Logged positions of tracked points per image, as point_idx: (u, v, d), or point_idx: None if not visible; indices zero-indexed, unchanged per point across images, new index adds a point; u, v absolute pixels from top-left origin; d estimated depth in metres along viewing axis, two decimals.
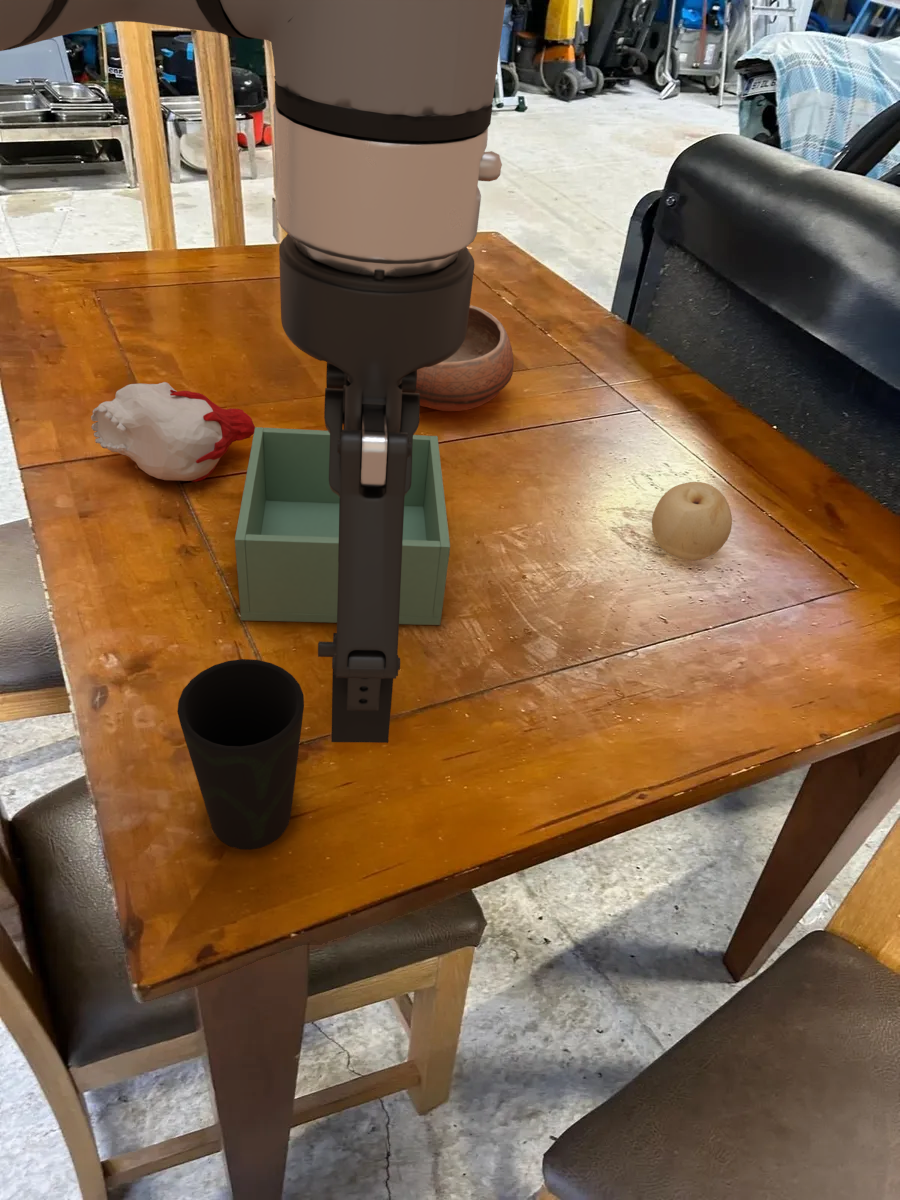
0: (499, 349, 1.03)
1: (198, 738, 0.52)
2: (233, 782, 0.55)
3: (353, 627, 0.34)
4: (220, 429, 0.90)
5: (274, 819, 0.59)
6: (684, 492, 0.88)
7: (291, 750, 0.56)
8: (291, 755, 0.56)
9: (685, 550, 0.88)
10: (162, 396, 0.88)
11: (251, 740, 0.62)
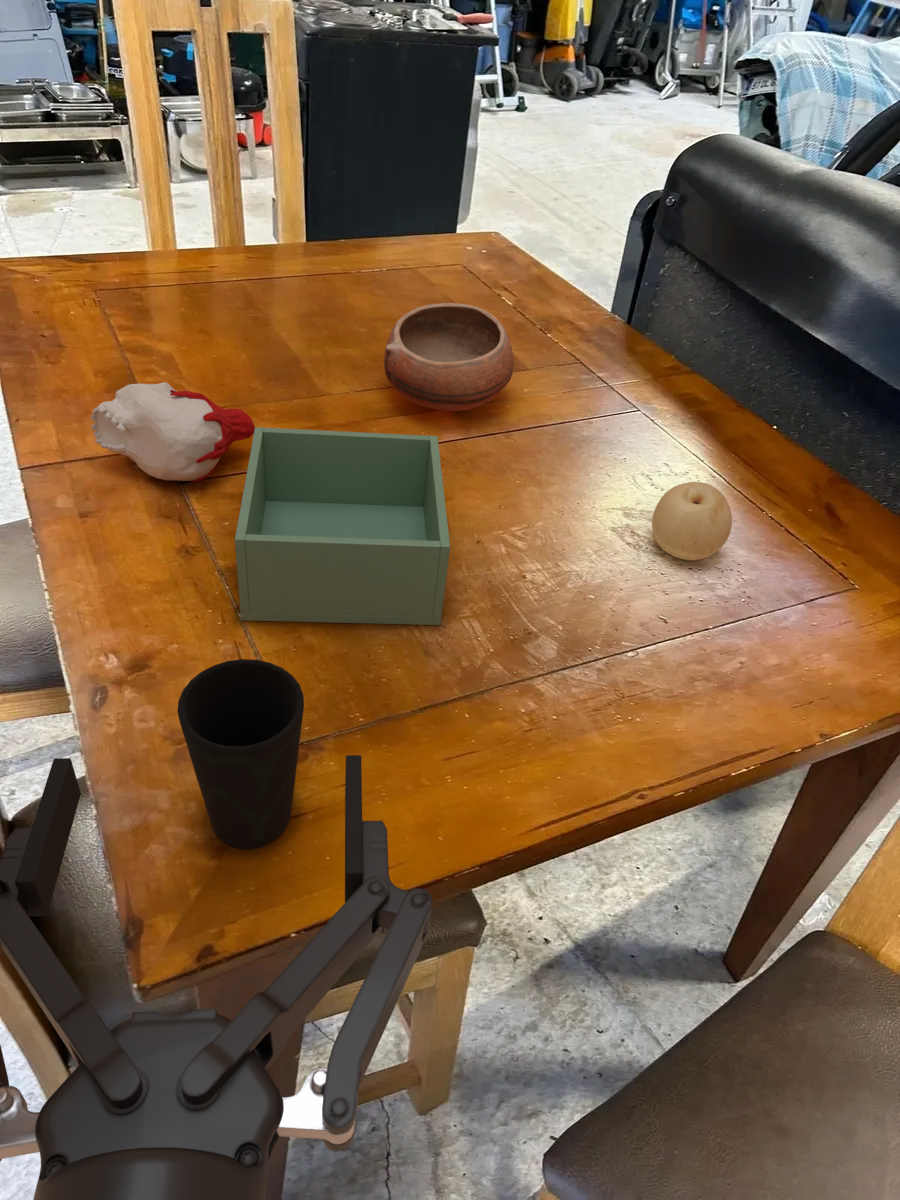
0: (499, 349, 1.03)
1: (198, 738, 0.52)
2: (233, 782, 0.55)
3: None
4: (220, 429, 0.90)
5: (274, 819, 0.59)
6: (684, 492, 0.88)
7: (291, 750, 0.56)
8: (291, 755, 0.56)
9: (685, 550, 0.88)
10: (162, 396, 0.88)
11: (251, 740, 0.62)
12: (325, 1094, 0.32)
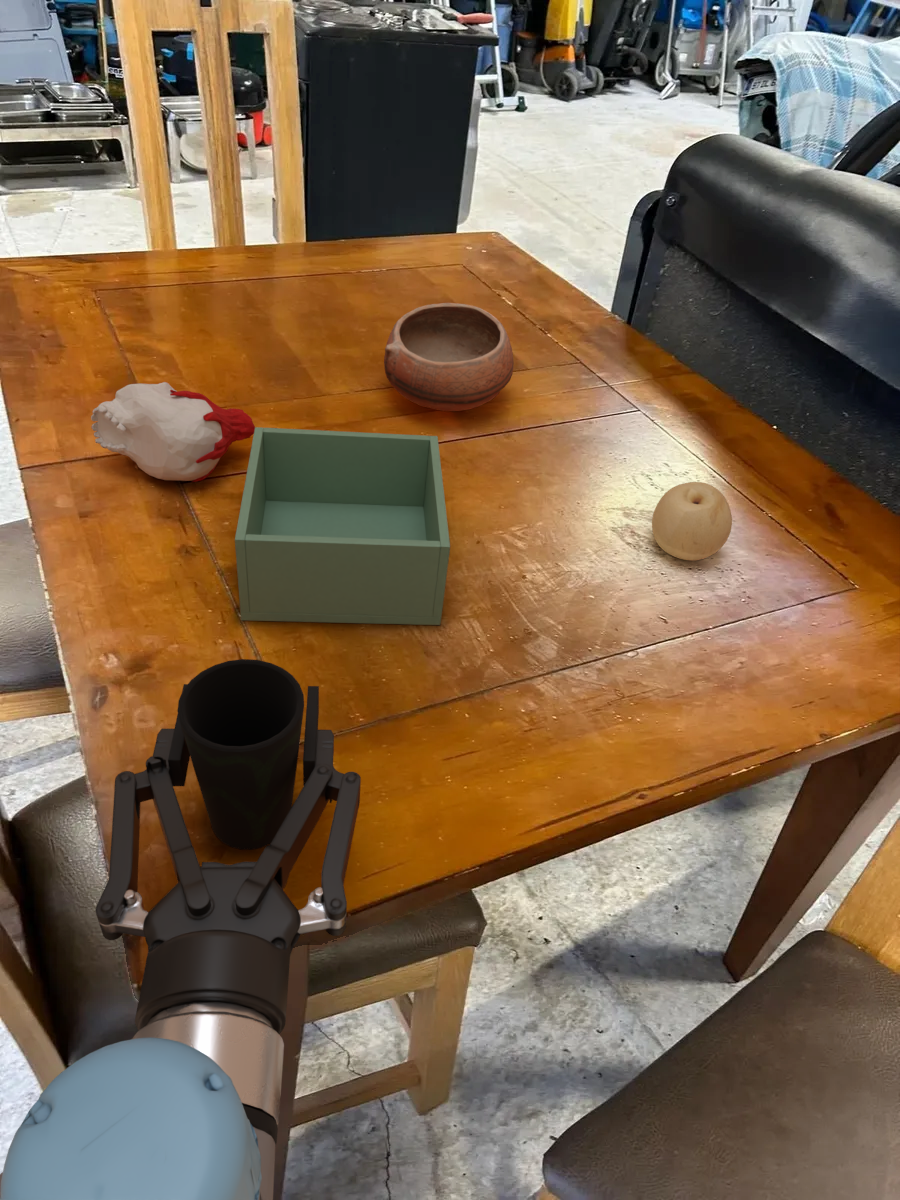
0: (499, 349, 1.03)
1: (198, 738, 0.52)
2: (233, 782, 0.55)
3: None
4: (220, 429, 0.90)
5: (274, 819, 0.59)
6: (684, 492, 0.88)
7: (291, 750, 0.56)
8: (291, 755, 0.56)
9: (685, 550, 0.88)
10: (162, 396, 0.88)
11: (251, 740, 0.62)
12: (325, 899, 0.50)
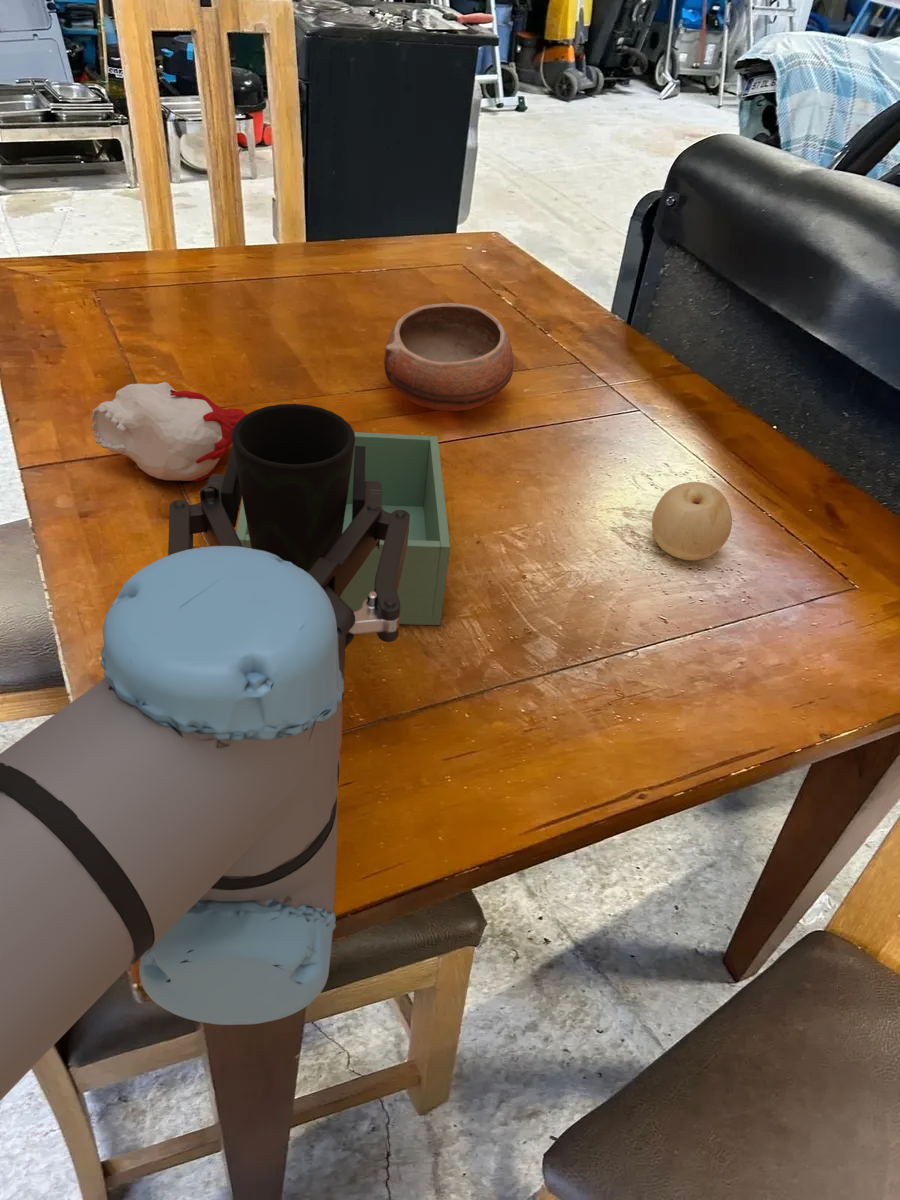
0: (499, 349, 1.03)
1: (253, 456, 0.53)
2: (285, 511, 0.55)
3: None
4: (220, 429, 0.90)
5: None
6: (684, 492, 0.88)
7: (342, 484, 0.56)
8: (341, 491, 0.57)
9: (685, 550, 0.88)
10: (162, 396, 0.88)
11: None
12: (379, 600, 0.50)
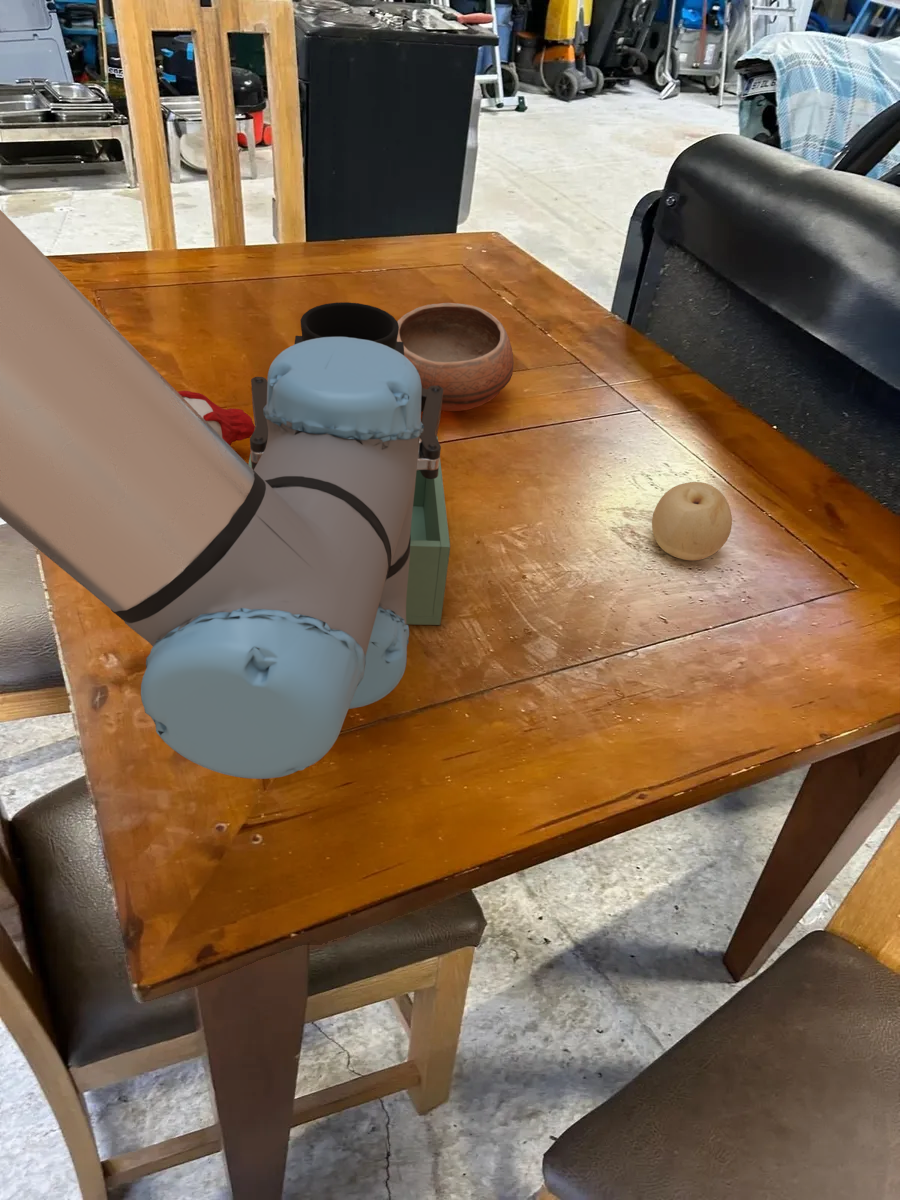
0: (499, 349, 1.03)
1: (320, 336, 0.67)
2: None
3: None
4: (220, 429, 0.90)
5: None
6: (684, 492, 0.88)
7: None
8: None
9: (685, 550, 0.88)
10: None
11: None
12: (423, 443, 0.64)
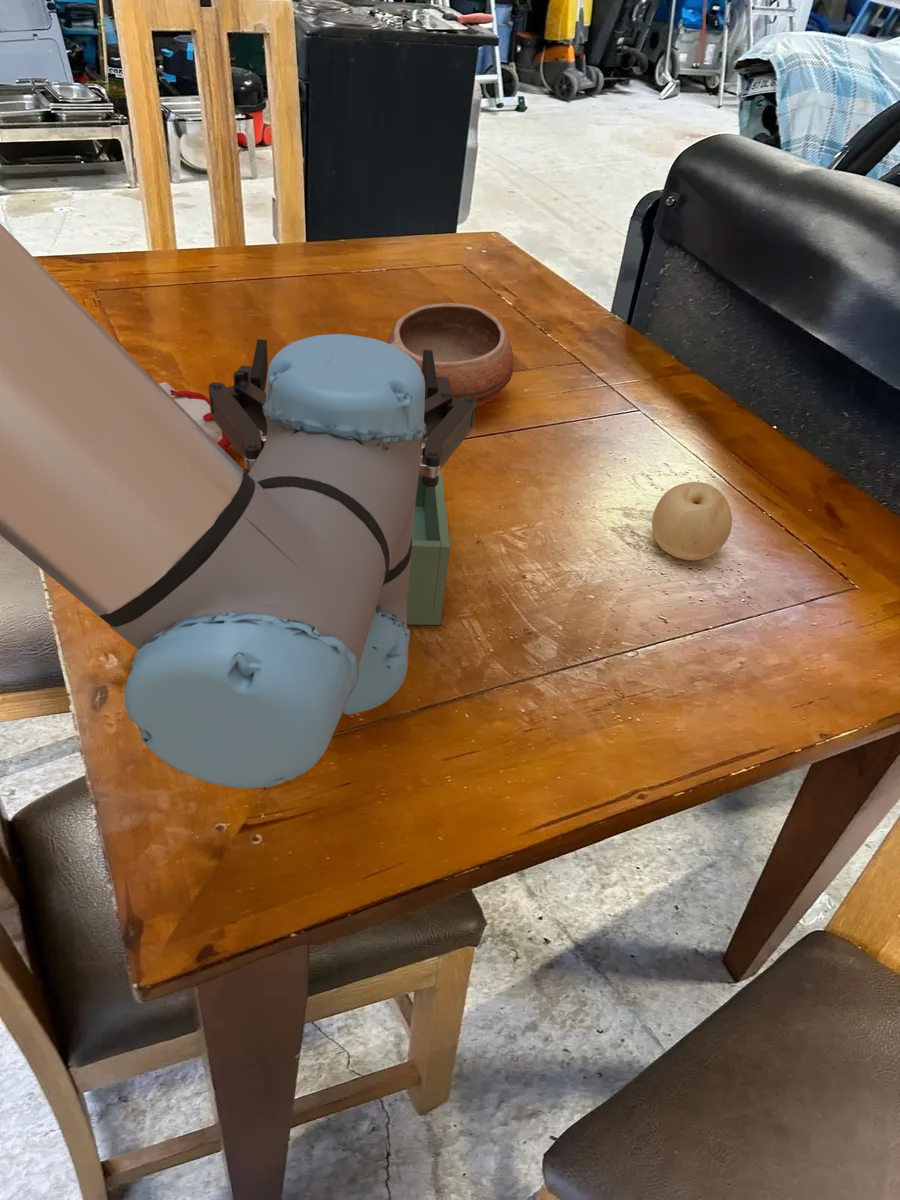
0: (499, 349, 1.03)
1: None
2: None
3: (217, 405, 0.65)
4: (220, 429, 0.90)
5: None
6: (684, 492, 0.88)
7: None
8: None
9: (685, 550, 0.88)
10: None
11: None
12: (425, 449, 0.62)
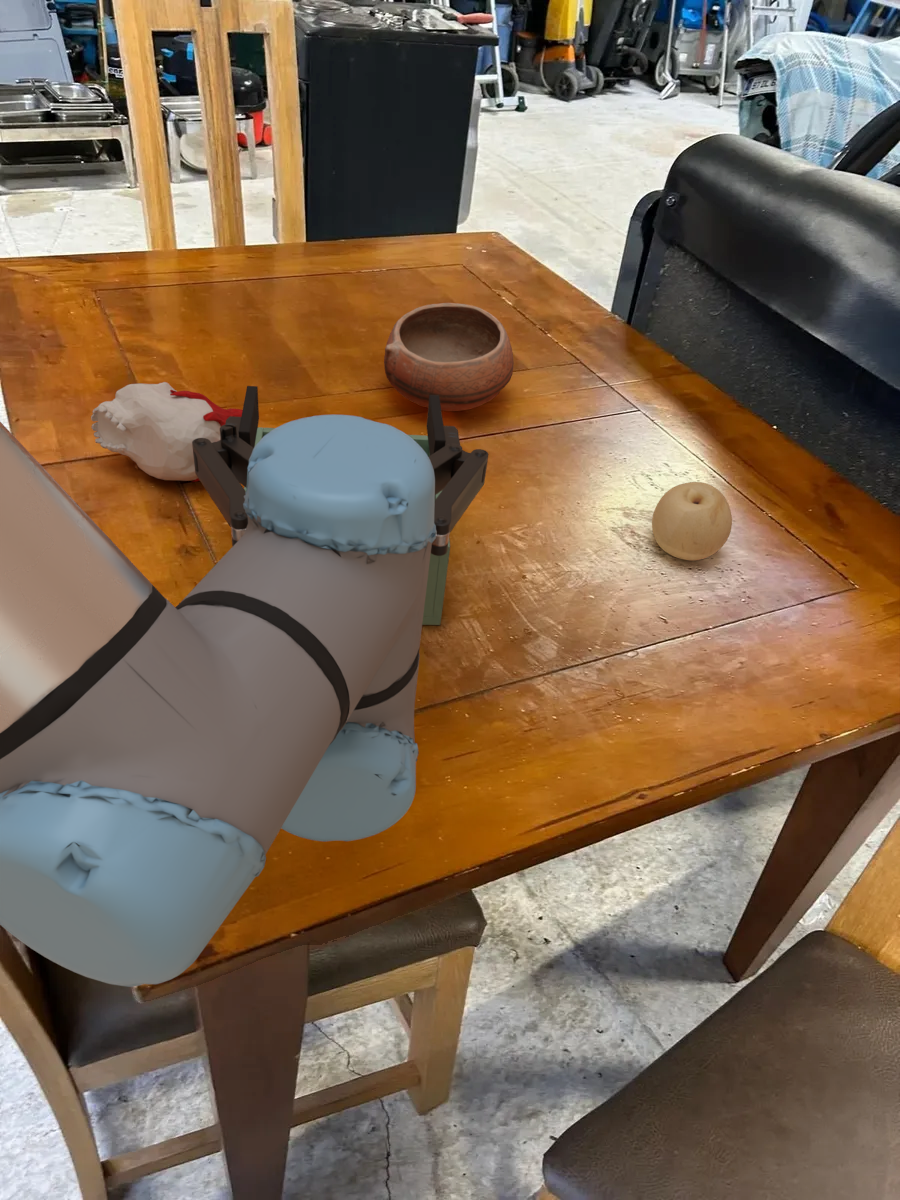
0: (499, 349, 1.03)
1: None
2: None
3: (201, 465, 0.59)
4: None
5: None
6: (684, 492, 0.88)
7: None
8: None
9: (685, 550, 0.88)
10: (162, 396, 0.88)
11: None
12: None
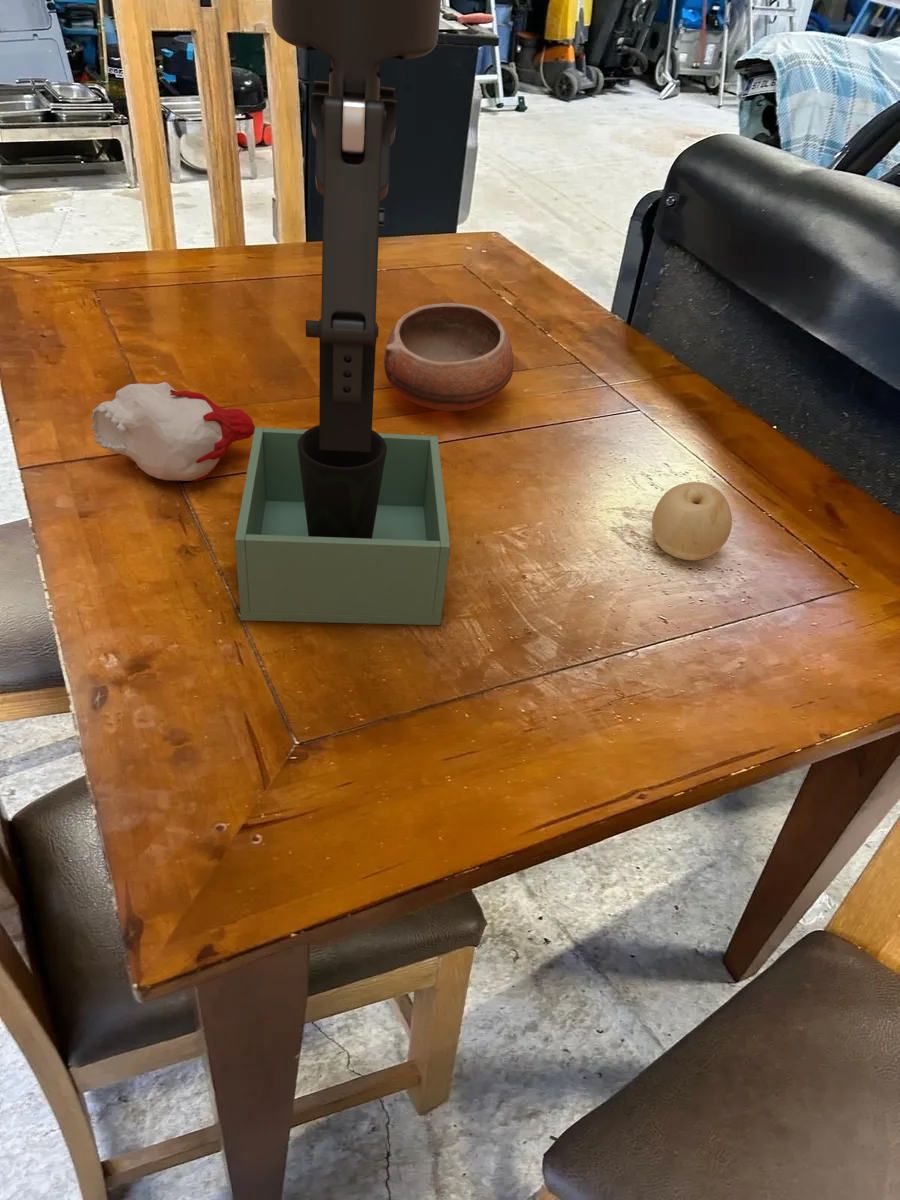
0: (499, 349, 1.03)
1: (314, 461, 0.74)
2: (335, 501, 0.76)
3: (336, 289, 0.39)
4: (220, 429, 0.90)
5: None
6: (684, 492, 0.88)
7: (376, 482, 0.77)
8: (376, 487, 0.77)
9: (685, 550, 0.88)
10: (162, 396, 0.88)
11: None
12: None
